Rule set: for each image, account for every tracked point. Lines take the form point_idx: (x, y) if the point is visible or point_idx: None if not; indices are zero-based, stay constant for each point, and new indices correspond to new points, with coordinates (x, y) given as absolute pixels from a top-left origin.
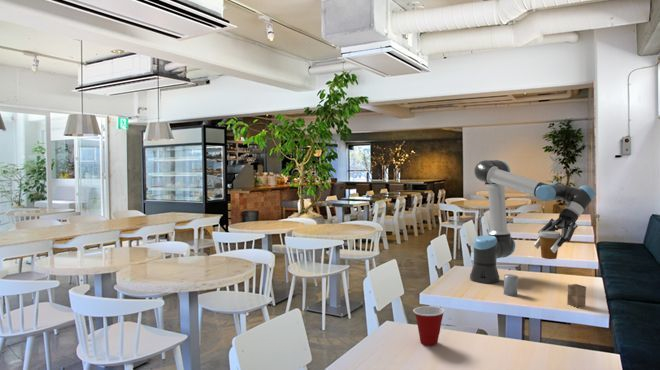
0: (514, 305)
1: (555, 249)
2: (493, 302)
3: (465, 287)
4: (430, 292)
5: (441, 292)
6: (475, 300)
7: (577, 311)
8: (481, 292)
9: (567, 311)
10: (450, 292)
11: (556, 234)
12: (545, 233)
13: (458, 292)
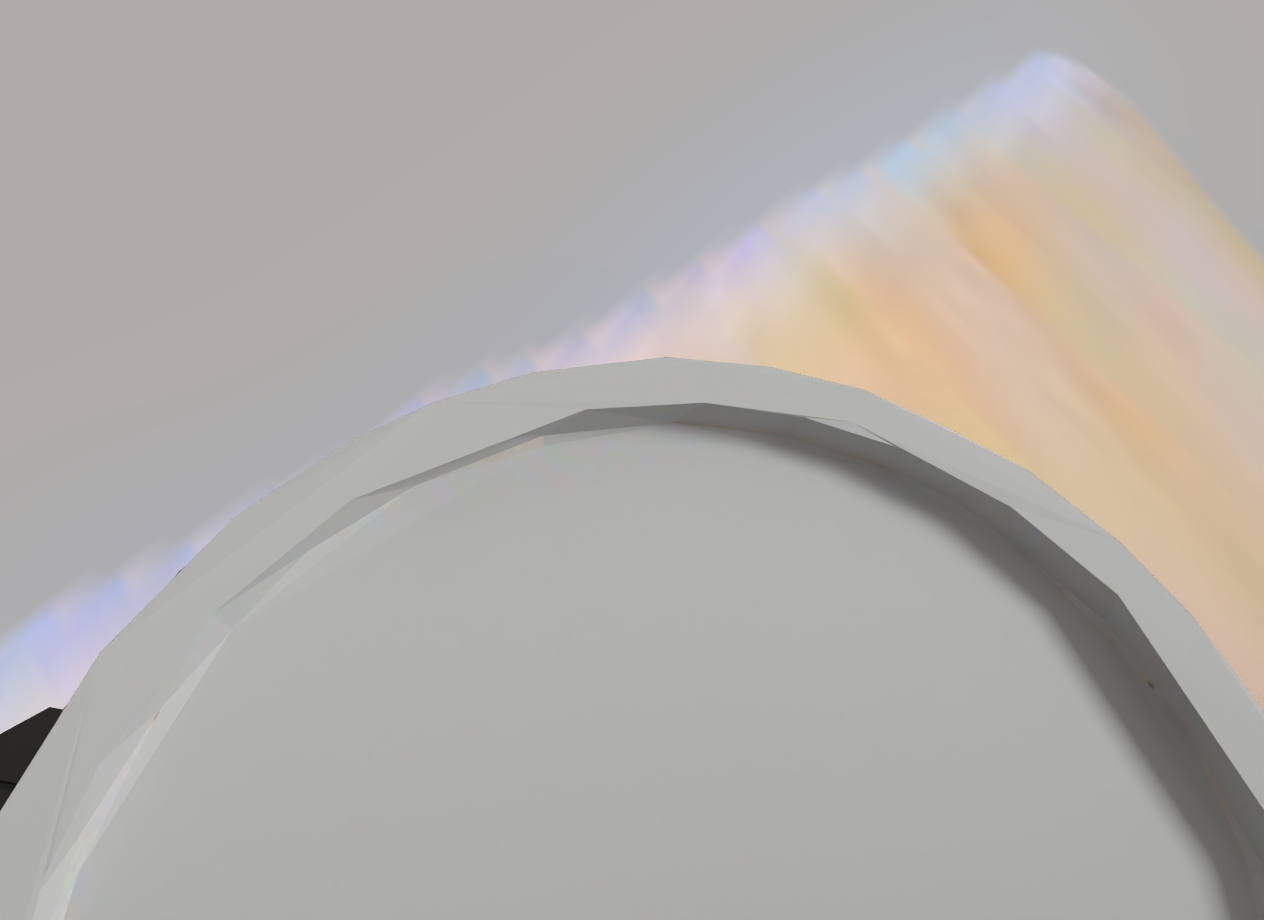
0: (558, 352)
1: None
2: (711, 282)
3: (1170, 453)
4: (1119, 125)
5: (1095, 183)
6: (820, 216)
7: (32, 712)
8: (987, 442)
9: (117, 613)
10: (1073, 234)
11: (19, 798)
12: (611, 364)
13: (1053, 283)
